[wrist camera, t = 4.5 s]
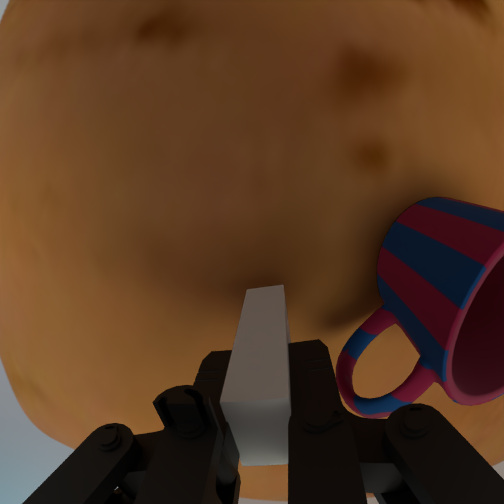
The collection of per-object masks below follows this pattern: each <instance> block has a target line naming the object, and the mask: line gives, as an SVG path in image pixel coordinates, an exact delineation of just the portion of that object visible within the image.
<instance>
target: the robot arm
mask: <svg viewBox="0 0 504 504" xmlns="http://www.w3.org/2000/svg"><path fill="white" fill-rule="evenodd" d="M198 372H199V373H197V376H196V379H195V382H194V384H193V386H192V385H182V386H176V387H173V388H170V389H167V390H165V391H164V392H163V393H161V394H160V395H158V396H157V397H156V399H155V400H154V401H153V405H154V407H155V409H156V411H157V413H158V415H159V417H160V419H161V421H162V422H163V424H164V426H165V427H164V429H163V430H161V431H157V432H152V433H145V434H138V435H134V434H133V433H132V431H131V429H130V428H128V427H127V426H125V425H124V424H119V423H111V424H106V425H103V426H101V427H99V428H97V429H96V430H95V431H93V432H92V433H91V434H90V435H89V436H88V437H87V438H86V439H85V440H84V441H83V442H82V443H81V444H80V445H79V447H78V448H77V449H76V450H75V451H74V452H73V453H72V454H71V455H70V456H69V457H68V458H67V459H66V460H65V461H64V462H63V463H62V464H61V465H60V466H59V467H58V468H57V469H56V470H55V471H54V472H53V473H52V474H51V475H50V476H49V477H48V478H47V479H46V480H45V481H44V482H43V483H42V484H41V485H40V487H38V488H37V489H36V490H35V491H34V492H33V493H32V494H31V495H30V496H29V497H28V498H27V499H26V500H25V501H24V502H23V504H238V499H239V492H240V484H241V481H240V475H239V473H238V463H239V458H240V460H241V463H242V466H262V465H280V464H288V504H367V498H366V493H373V494H374V496H375V497H376V499H377V501H378V502H379V504H504V479H503V478H502V477H501V476H500V475H499V474H498V473H497V472H496V471H495V470H494V469H493V468H492V467H491V465H490V464H489V463H488V462H487V461H486V460H485V459H484V458H483V457H482V456H481V455H480V454H479V453H478V452H477V451H476V450H475V449H474V447H473V446H472V445H471V444H470V443H469V442H468V441H467V440H466V439H465V438H464V437H463V436H462V435H461V434H460V433H459V432H458V431H457V430H456V429H455V428H454V427H453V426H452V425H451V423H450V422H449V421H448V420H447V419H446V418H445V417H444V416H443V415H442V414H441V413H440V412H439V411H437V410H436V409H434V408H433V407H432V406H429V405H425V404H421V403H419V404H408V405H404V406H401V407H399V408H398V409H396V410H395V411H393V412H392V413H391V414H390V416H389V417H388V418H387V419H370V418H362V417H359V416H356V415H354V414H352V413H350V412H349V411H347V409H346V408H345V407H344V406H343V404H342V402H341V398H340V394H339V390H338V386H337V382H336V378H335V374H334V370H333V366H332V362H331V359H330V354H329V351H328V347H327V346H326V345H325V344H324V343H322V342H321V341H320V340H319V339H317V340H310V341H303V342H295V343H291V339H290V331H289V323H288V316H287V308H286V301H285V294H284V286H283V285H276V286H269V287H261V288H253V289H247V291H246V295H245V299H244V303H243V308H242V312H241V316H240V320H239V324H238V328H237V333H236V337H235V341H234V345H233V349H232V350H226V351H211V352H210V353H209V354H208V355H207V356H206V357H205V358H204V359H203V360H202V363H201V365H200V368H199V371H198ZM117 486H118V487H119V488H117ZM116 488H117V489H116ZM115 489H116V490H115Z"/></svg>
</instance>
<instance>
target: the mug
mask: <svg viewBox="0 0 504 504" xmlns="http://www.w3.org/2000/svg"><path fill="white" fill-rule="evenodd" d="M377 283H378V288H379V293H380V295H381V298H382V300H383V302H384V305H382V306H381V307H380V308H379V309H378V310H376V311H375V312H374V313H373V314H372V315H371V316H370V317H369V318H368V319H367V320H366V321H365V322H364V323H363V324H362V325H361V326H360V327H359V328H358V329H357V330H356V331H355V332H354V333H353V335H352V336H351V337H350V338H349V340H348V341H347V343H346V344H345V346H344V347H343V349H342V351H341V353H340V355H339V357H338V360H337V365H336V382H337V386H338V389H339V391H340V394H341V396H342V397H343V399H344V401H345V403H346V404H347V405H348V406H349V407H350V408H351V409H352V410H353V411H355V412H356V413H357V414H359V415H361V416H363V417H366V418H372V419H377V418H382V417H387V416H389V415H390V414H391V413H392V412H393V411H395V410H396V409H398V408H399V407H401V406H404V405H408V404H411V403H412V402H414V401H415V400H416V399H417V398H418V397H419V396H420V395H422V394H423V393H424V392H425V391H426V390H427V389H428V388H429V387H430V386H431V385H432V384H433V382H436V383H439V384H440V385H441V387H442V388H443V389H444V391H445V392H446V394H447V395H448V396H449V397H450V398H451V399H452V400H453V401H454V402H456V403H459V404H461V405H469V406H472V405H479V404H482V403H485V402H488V401H491V400H493V399H495V398H497V397H499V396H501V395H502V394H504V211H501V210H497V209H493V208H489V207H485V206H481V205H477V204H473V203H469V202H464V201H460V200H455V199H451V198H444V197H433V198H428V199H425V200H422V201H419V202H417V203H416V204H414V205H412V206H411V207H409V208H408V209H407V210H406V211H405V212H403V213H402V214H401V215H400V216H399V218H398V219H397V220H396V221H395V222H394V223H393V225H392V227H391V228H390V230H389V231H388V233H387V235H386V237H385V239H384V242H383V244H382V246H381V250H380V254H379V258H378V265H377ZM395 323H396V324H397V325H398V326H399V327H401V329H402V330H403V332H404V333H405V334H406V336H407V337H408V339H409V340H410V342H411V343H412V344H413V346H414V347H415V349H416V350H417V352H418V353H419V355H420V358H419V360H418V361H417V363H416V365H415V367H414V369H413V371H412V373H411V374H410V375H409V376H408V378H407V379H406V380H405V381H404V382H403V383H402V384H401V385H400V386H399V387H397V388H396V389H395V390H393V391H392V392H390V393H388V394H386V395H384V396H381V397H377V398H371V399H369V398H362V397H360V396H358V395H357V394H356V393H355V392H354V390H353V385H352V374H353V369H354V366H355V364H356V361H357V359H358V357H359V356H360V355H361V353H362V352H363V350H364V349H365V348H366V347H367V346H368V344H369V343H370V342H371V341H372V340H373V339H374V338H375V337H376V336H377V335H379V334H380V333H381V332H382V331H384V330H385V329H386V328H388V327H390V326H391V325H393V324H395Z"/></svg>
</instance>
